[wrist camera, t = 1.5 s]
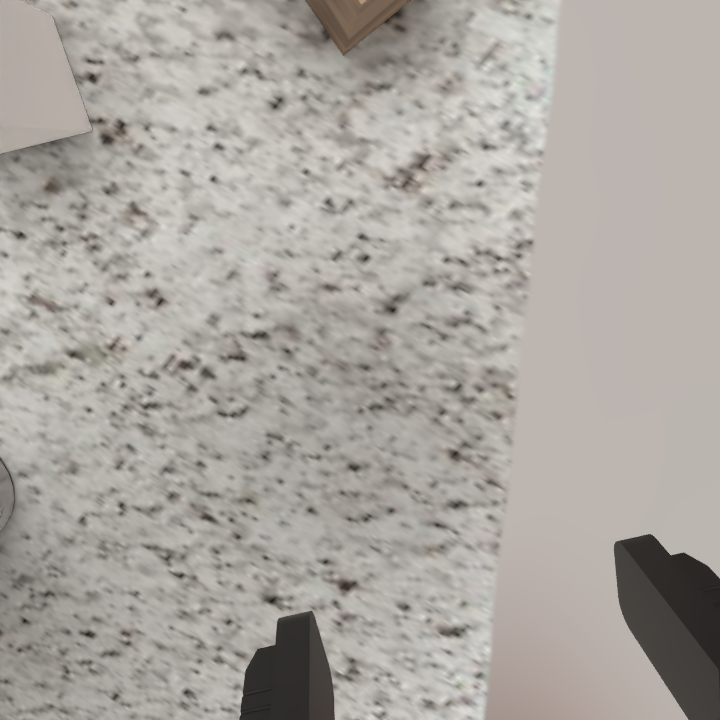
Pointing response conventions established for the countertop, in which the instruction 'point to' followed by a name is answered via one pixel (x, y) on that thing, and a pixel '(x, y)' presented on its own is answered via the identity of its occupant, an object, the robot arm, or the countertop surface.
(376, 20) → the light wood block
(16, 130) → the milk
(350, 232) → the countertop surface
